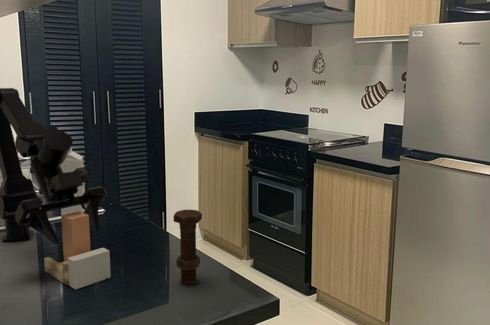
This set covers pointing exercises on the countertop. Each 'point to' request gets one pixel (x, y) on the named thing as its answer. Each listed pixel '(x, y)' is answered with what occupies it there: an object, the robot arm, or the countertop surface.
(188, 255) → the bolt
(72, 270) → the stop block
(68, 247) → the orange rectangular block
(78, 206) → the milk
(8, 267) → the countertop surface
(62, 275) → the cradle
